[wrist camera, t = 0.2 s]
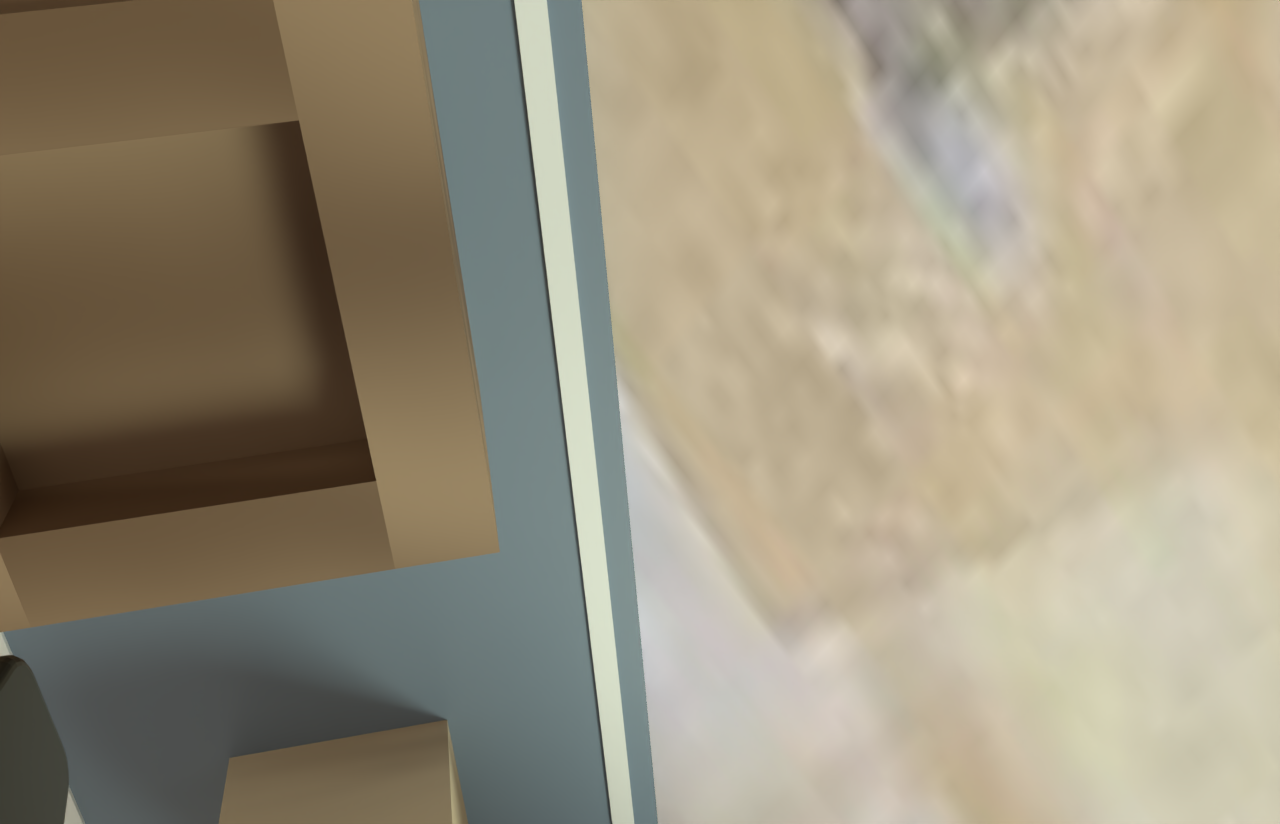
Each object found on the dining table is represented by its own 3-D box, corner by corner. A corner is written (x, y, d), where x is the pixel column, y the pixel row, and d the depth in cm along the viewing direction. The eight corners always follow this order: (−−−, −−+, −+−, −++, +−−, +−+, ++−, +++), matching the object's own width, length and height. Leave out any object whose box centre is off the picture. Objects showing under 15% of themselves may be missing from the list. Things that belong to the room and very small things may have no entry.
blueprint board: (656, 854, 30) (664, 884, 29) (112, 958, 28) (104, 993, 28) (559, -180, 18) (565, -177, 18) (-361, -96, 17) (-397, -87, 16)
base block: (479, 386, 22) (499, 552, 17) (19, 452, 21) (-84, 645, 17) (405, -87, 18) (407, -28, 14) (-167, -30, 17) (-367, 52, 13)
